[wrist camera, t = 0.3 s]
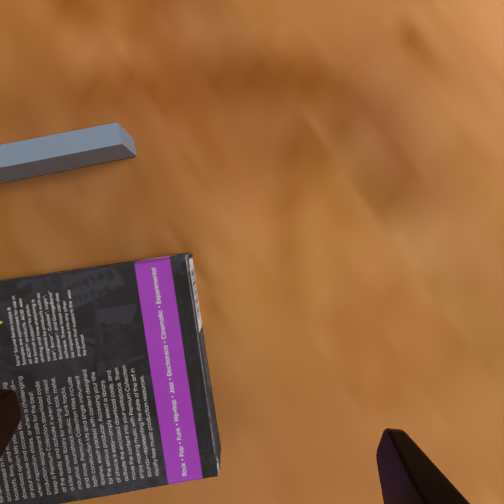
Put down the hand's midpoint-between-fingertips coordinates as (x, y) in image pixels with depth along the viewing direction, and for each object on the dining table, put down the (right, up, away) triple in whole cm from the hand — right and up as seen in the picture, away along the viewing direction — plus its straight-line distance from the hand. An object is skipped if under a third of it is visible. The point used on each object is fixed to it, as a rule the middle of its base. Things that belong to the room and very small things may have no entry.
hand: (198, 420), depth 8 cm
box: (-11, -4, +15) cm, 19 cm away
